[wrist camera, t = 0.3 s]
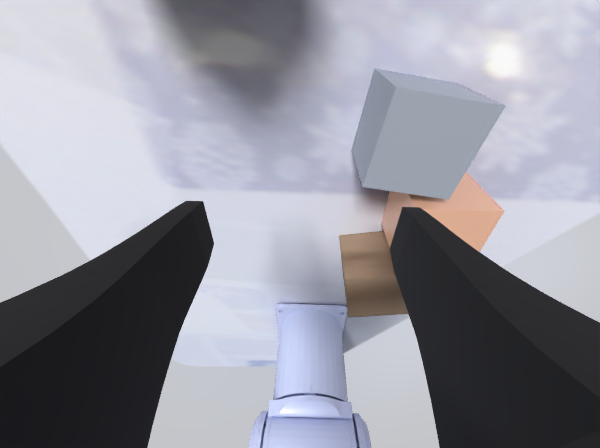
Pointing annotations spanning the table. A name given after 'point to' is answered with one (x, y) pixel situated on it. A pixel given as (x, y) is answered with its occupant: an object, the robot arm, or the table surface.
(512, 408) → the robot arm
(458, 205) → the terracotta block
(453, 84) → the slate block
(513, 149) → the table surface
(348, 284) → the walnut block
